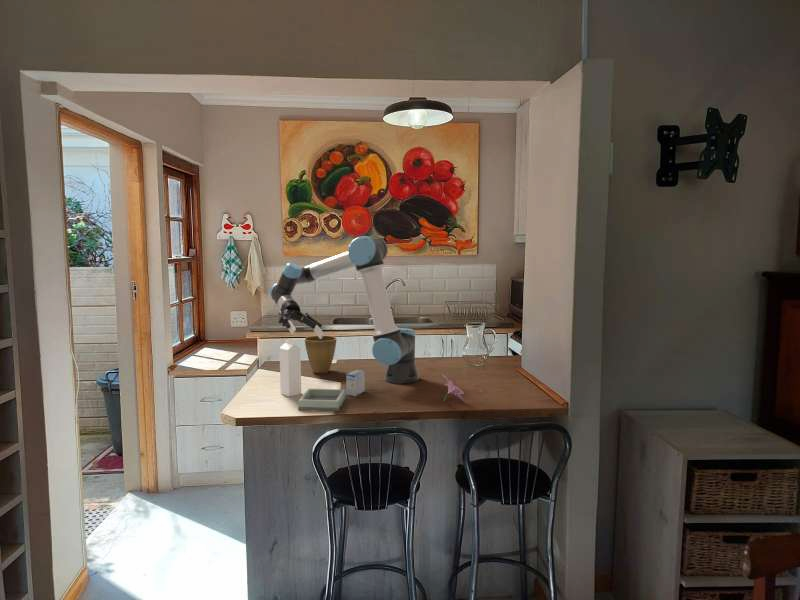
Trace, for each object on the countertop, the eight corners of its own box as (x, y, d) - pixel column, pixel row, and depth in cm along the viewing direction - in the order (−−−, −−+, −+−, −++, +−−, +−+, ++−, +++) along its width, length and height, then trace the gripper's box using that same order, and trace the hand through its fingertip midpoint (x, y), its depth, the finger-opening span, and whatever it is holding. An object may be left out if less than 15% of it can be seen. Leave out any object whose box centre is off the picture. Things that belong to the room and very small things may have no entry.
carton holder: (345, 398, 200) (345, 389, 199) (338, 411, 185) (338, 401, 185) (308, 397, 201) (308, 388, 200) (298, 410, 186) (298, 400, 186)
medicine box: (355, 389, 211) (355, 369, 210) (365, 391, 210) (365, 370, 208) (346, 395, 204) (345, 374, 203) (355, 396, 202) (355, 375, 201)
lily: (462, 409, 190) (472, 386, 192) (433, 396, 191) (443, 373, 193) (458, 409, 202) (467, 386, 204) (431, 397, 203) (440, 374, 205)
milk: (292, 390, 210) (291, 338, 208) (301, 393, 206) (300, 340, 204) (280, 393, 206) (279, 340, 203) (288, 396, 202) (287, 342, 199)
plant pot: (340, 373, 236) (340, 339, 234) (309, 377, 231) (308, 342, 229) (332, 366, 250) (331, 334, 248) (302, 369, 244) (301, 336, 242)
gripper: (309, 318, 232) (329, 345, 217) (259, 309, 215) (277, 337, 200) (316, 304, 230) (336, 330, 215) (266, 294, 213) (285, 322, 198)
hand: (308, 334), depth 208 cm, fingers open, 13 cm apart
